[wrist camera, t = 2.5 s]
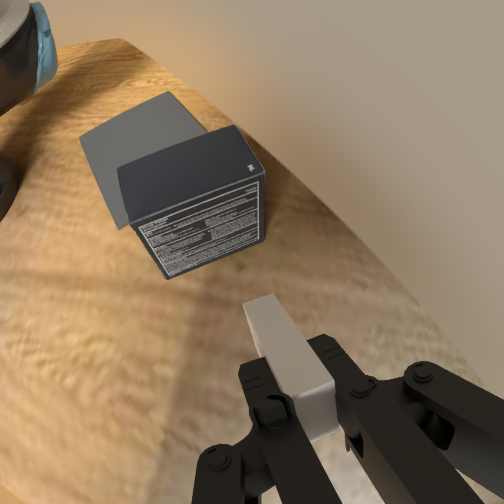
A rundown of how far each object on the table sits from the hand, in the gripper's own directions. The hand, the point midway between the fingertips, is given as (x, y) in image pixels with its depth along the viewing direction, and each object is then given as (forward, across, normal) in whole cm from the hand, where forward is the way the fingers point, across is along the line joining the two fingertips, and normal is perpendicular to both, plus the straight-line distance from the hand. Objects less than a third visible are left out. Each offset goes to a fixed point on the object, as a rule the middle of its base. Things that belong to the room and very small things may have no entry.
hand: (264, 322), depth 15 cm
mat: (+29, -5, +11) cm, 31 cm away
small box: (+19, -1, 0) cm, 19 cm away
